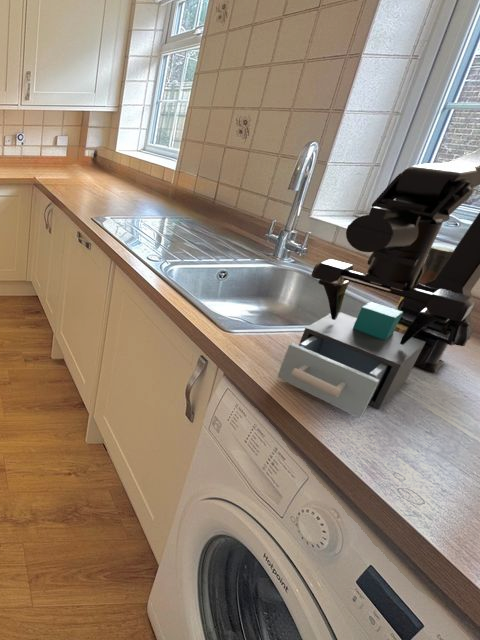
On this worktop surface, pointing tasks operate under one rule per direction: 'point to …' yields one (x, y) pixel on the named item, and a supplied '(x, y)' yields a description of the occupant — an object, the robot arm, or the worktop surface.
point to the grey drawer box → (370, 350)
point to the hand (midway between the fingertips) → (366, 330)
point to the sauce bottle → (430, 271)
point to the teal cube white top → (377, 320)
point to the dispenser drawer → (334, 373)
